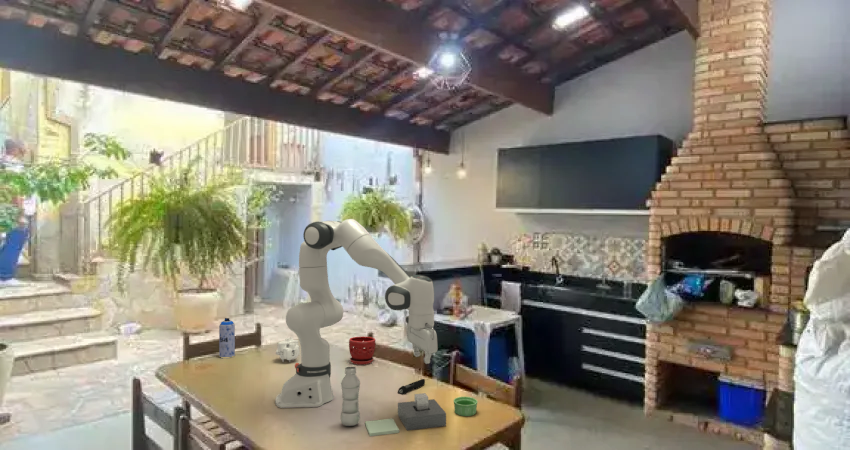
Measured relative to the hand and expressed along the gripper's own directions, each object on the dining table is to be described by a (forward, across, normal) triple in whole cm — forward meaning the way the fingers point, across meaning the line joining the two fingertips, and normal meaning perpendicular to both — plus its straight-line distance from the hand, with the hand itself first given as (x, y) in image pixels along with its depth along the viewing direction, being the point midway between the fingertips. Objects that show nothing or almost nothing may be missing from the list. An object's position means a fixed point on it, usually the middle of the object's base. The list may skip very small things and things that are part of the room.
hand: (421, 359), depth 180 cm
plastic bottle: (+22, +6, +25) cm, 34 cm away
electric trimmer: (+22, +32, -9) cm, 40 cm away
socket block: (+22, 0, 0) cm, 22 cm away
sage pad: (+22, -1, +15) cm, 27 cm away
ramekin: (+22, +1, -18) cm, 29 cm away
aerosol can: (+21, +114, +62) cm, 132 cm away
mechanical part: (+22, +94, +34) cm, 102 cm away
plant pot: (+22, +78, 0) cm, 81 cm away
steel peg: (+22, 0, 0) cm, 22 cm away
